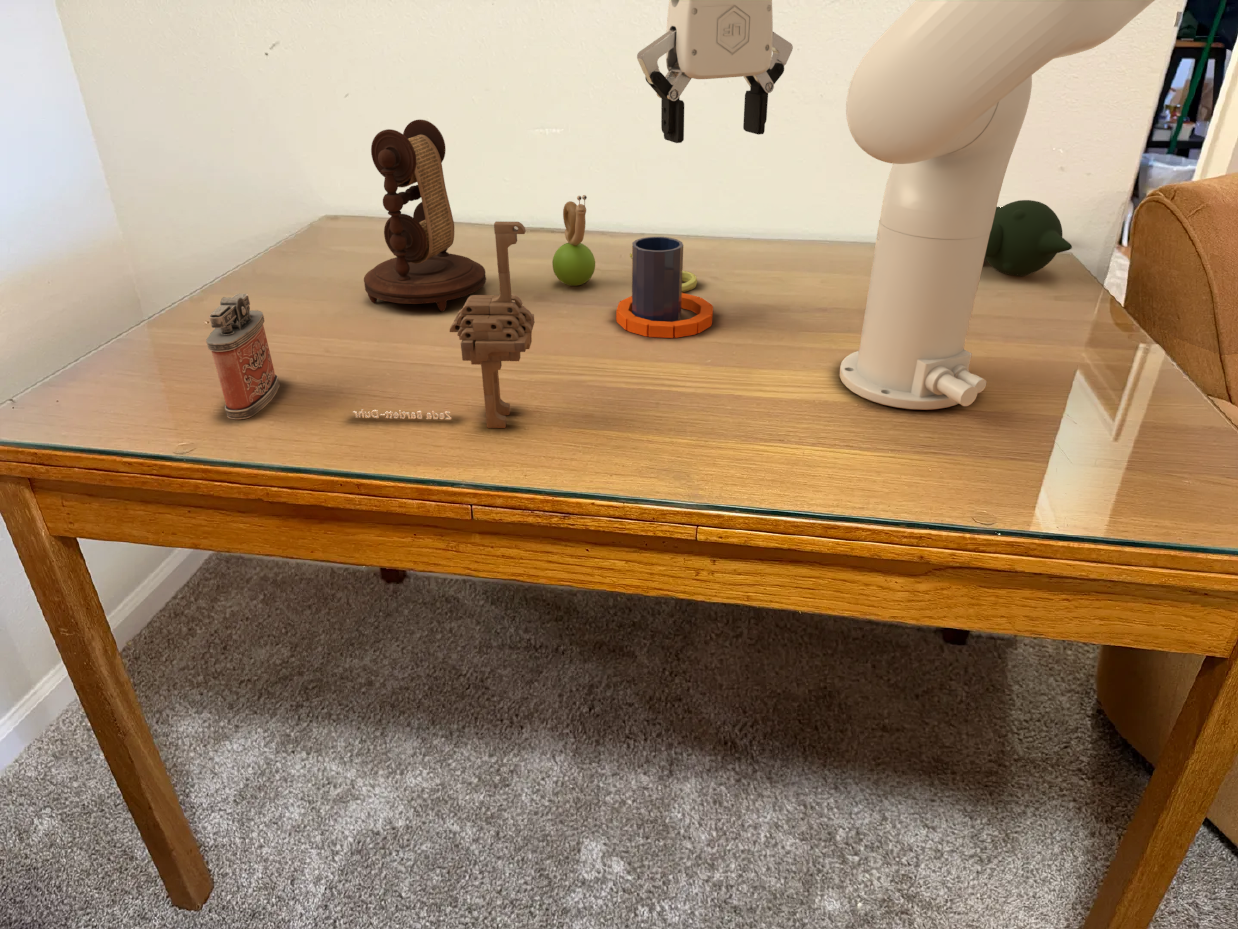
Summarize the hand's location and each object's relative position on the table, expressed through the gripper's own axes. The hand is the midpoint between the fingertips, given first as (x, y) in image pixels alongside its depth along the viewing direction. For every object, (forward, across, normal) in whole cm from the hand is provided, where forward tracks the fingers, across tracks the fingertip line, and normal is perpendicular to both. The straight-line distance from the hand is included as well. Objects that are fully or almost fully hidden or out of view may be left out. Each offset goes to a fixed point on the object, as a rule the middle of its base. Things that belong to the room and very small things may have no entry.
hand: (714, 136), depth 89 cm
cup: (+20, -6, +2) cm, 21 cm away
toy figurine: (+16, +40, +4) cm, 43 cm away
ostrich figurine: (+20, -34, -12) cm, 41 cm away
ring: (+20, -5, +2) cm, 21 cm away
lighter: (+20, -50, 0) cm, 54 cm away
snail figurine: (+20, -10, +17) cm, 28 cm away
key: (+20, +1, +14) cm, 24 cm away
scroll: (+19, -28, +22) cm, 40 cm away
